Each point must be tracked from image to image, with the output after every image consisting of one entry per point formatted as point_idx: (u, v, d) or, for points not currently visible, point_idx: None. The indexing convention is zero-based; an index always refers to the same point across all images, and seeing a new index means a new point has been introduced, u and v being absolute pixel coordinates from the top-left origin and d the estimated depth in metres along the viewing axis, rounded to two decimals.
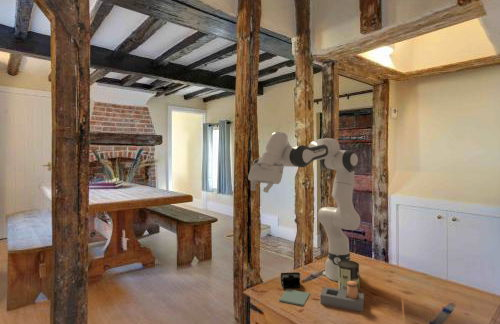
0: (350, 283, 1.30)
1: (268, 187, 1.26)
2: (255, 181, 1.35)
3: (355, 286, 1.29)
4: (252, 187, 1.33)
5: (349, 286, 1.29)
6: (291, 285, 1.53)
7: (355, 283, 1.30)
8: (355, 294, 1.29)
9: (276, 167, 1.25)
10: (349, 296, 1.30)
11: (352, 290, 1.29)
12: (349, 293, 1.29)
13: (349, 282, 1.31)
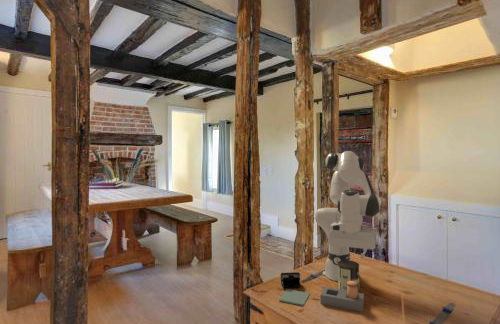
0: (350, 283, 1.30)
1: (364, 253, 1.28)
2: None
3: (355, 286, 1.29)
4: (340, 253, 1.32)
5: (349, 286, 1.29)
6: (291, 285, 1.53)
7: (355, 283, 1.30)
8: (355, 294, 1.29)
9: (370, 234, 1.25)
10: (349, 296, 1.30)
11: (352, 290, 1.29)
12: (349, 293, 1.29)
13: (349, 282, 1.31)
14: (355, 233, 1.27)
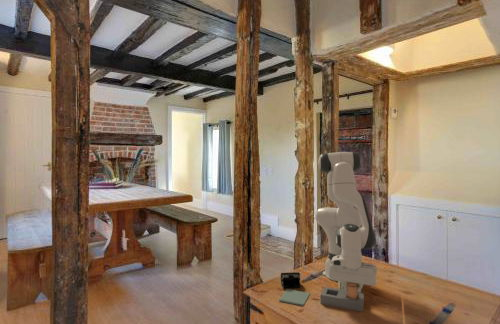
0: (350, 283, 1.30)
1: (361, 288, 1.29)
2: None
3: (355, 286, 1.29)
4: (346, 288, 1.31)
5: (349, 286, 1.29)
6: (291, 285, 1.53)
7: (355, 283, 1.30)
8: (355, 294, 1.29)
9: (371, 271, 1.25)
10: (349, 296, 1.30)
11: (352, 290, 1.29)
12: (349, 293, 1.29)
13: (349, 282, 1.31)
14: (356, 269, 1.28)
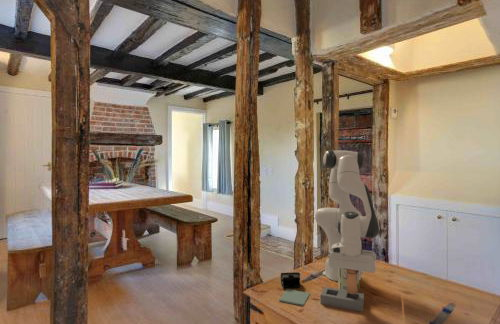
0: (350, 270, 1.30)
1: None
2: None
3: (355, 273, 1.29)
4: (345, 276, 1.31)
5: (349, 273, 1.29)
6: (291, 285, 1.53)
7: (354, 270, 1.30)
8: (355, 281, 1.29)
9: (370, 258, 1.25)
10: (349, 283, 1.30)
11: (352, 277, 1.29)
12: (349, 280, 1.29)
13: (349, 269, 1.31)
14: (355, 256, 1.28)
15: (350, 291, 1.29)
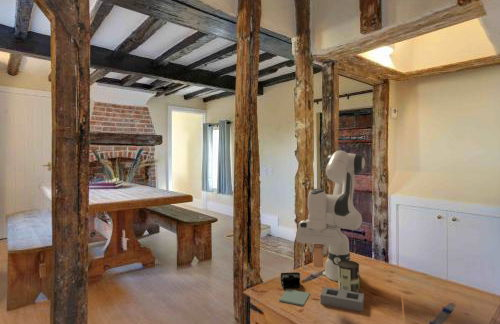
0: (316, 245, 1.35)
1: None
2: (311, 242, 1.37)
3: (320, 247, 1.34)
4: (312, 250, 1.36)
5: (315, 247, 1.34)
6: (291, 285, 1.53)
7: (321, 244, 1.35)
8: (320, 255, 1.34)
9: (335, 231, 1.31)
10: (315, 257, 1.34)
11: (317, 251, 1.34)
12: (315, 254, 1.34)
13: (315, 244, 1.36)
14: (321, 230, 1.33)
15: (316, 265, 1.34)
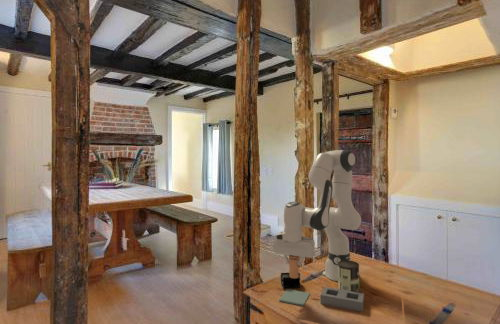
0: (291, 256, 1.40)
1: (301, 260, 1.38)
2: None
3: (295, 259, 1.38)
4: (288, 261, 1.41)
5: (290, 259, 1.39)
6: (291, 285, 1.53)
7: (296, 256, 1.40)
8: (295, 266, 1.38)
9: (309, 244, 1.35)
10: (290, 268, 1.39)
11: (293, 262, 1.38)
12: (290, 265, 1.39)
13: (291, 255, 1.41)
14: (296, 242, 1.37)
15: (291, 275, 1.39)
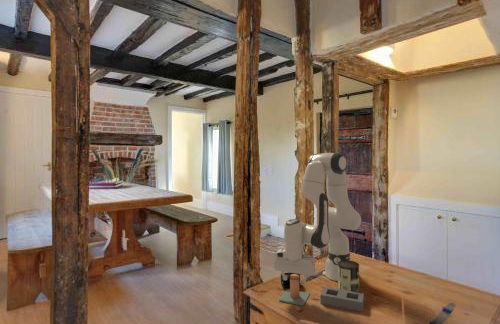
0: (292, 276, 1.40)
1: None
2: None
3: (296, 279, 1.38)
4: (285, 278, 1.42)
5: (291, 279, 1.39)
6: None
7: (297, 276, 1.40)
8: (296, 286, 1.38)
9: (309, 262, 1.35)
10: (291, 288, 1.39)
11: (293, 283, 1.38)
12: (291, 285, 1.39)
13: (292, 275, 1.41)
14: (297, 260, 1.37)
15: (292, 296, 1.39)
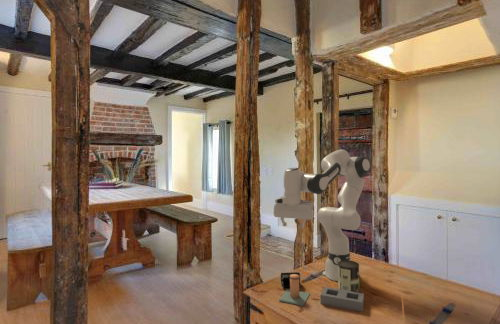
0: (292, 276, 1.40)
1: (304, 223, 1.45)
2: None
3: (296, 279, 1.39)
4: (284, 224, 1.48)
5: (291, 279, 1.39)
6: None
7: (297, 276, 1.40)
8: (296, 286, 1.39)
9: (307, 206, 1.42)
10: (291, 288, 1.39)
11: (293, 282, 1.39)
12: (291, 285, 1.39)
13: (292, 275, 1.41)
14: (295, 205, 1.44)
15: (292, 295, 1.39)
